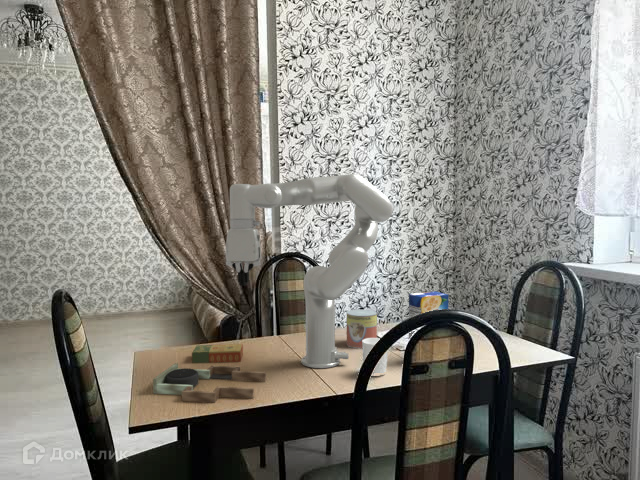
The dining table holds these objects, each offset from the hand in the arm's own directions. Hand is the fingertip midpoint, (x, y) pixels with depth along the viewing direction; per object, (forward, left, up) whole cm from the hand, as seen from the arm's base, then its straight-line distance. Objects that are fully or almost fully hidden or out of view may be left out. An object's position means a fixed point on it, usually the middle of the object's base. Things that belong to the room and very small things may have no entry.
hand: (243, 284), depth 153 cm
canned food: (-34, -36, -27) cm, 57 cm away
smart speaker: (+14, +14, -28) cm, 34 cm away
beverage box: (-57, -20, -27) cm, 66 cm away
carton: (+13, -12, -28) cm, 33 cm away
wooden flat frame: (+5, +14, -27) cm, 31 cm away
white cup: (-40, -4, -27) cm, 49 cm away
